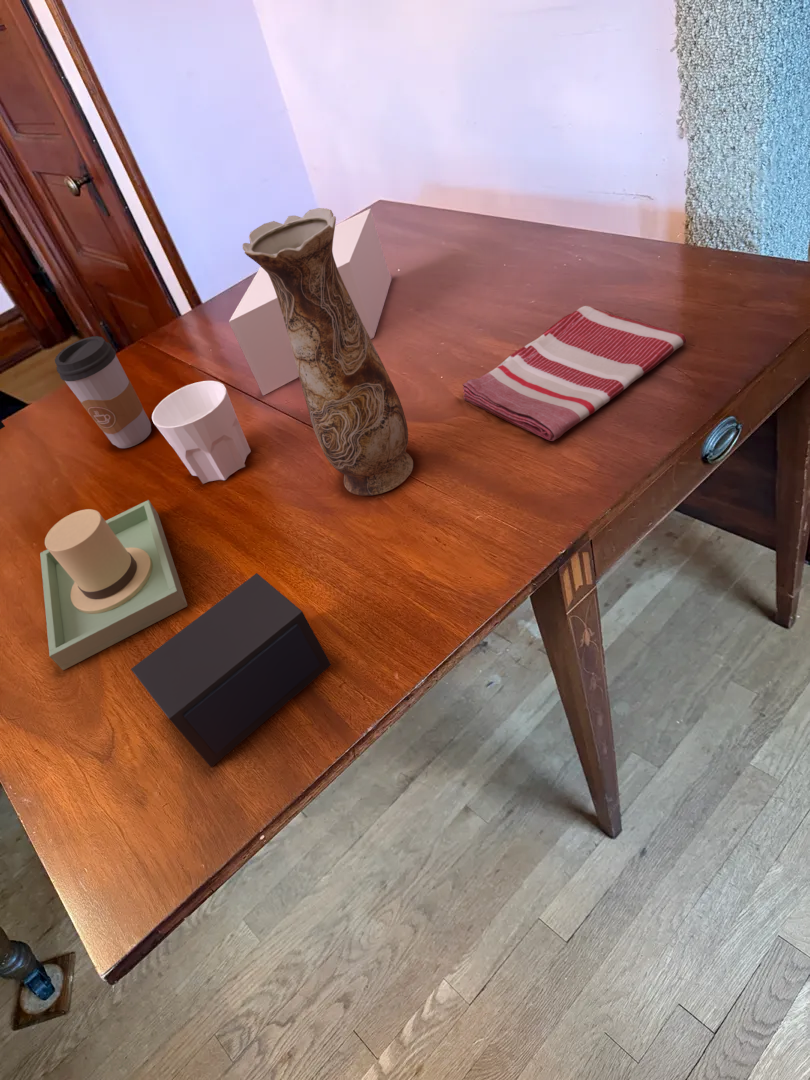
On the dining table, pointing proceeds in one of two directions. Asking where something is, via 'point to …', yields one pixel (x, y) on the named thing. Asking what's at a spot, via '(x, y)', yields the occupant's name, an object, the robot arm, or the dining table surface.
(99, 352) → the coffee cup
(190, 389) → the cup
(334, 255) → the block
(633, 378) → the dish towel
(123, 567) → the hat
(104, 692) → the dining table surface
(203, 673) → the black rectangular block
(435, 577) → the dining table surface
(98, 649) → the tray
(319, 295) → the vase
